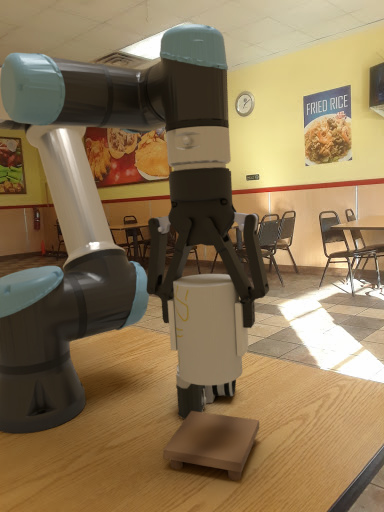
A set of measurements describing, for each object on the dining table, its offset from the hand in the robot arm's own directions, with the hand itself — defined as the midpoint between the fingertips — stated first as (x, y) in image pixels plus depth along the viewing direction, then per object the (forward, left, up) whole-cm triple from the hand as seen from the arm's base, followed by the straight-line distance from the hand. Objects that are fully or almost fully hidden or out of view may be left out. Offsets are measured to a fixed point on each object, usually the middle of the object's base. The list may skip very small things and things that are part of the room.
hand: (209, 349), depth 56 cm
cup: (0, 0, -3) cm, 3 cm away
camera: (-6, +15, -15) cm, 23 cm away
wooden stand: (0, 0, -15) cm, 15 cm away
